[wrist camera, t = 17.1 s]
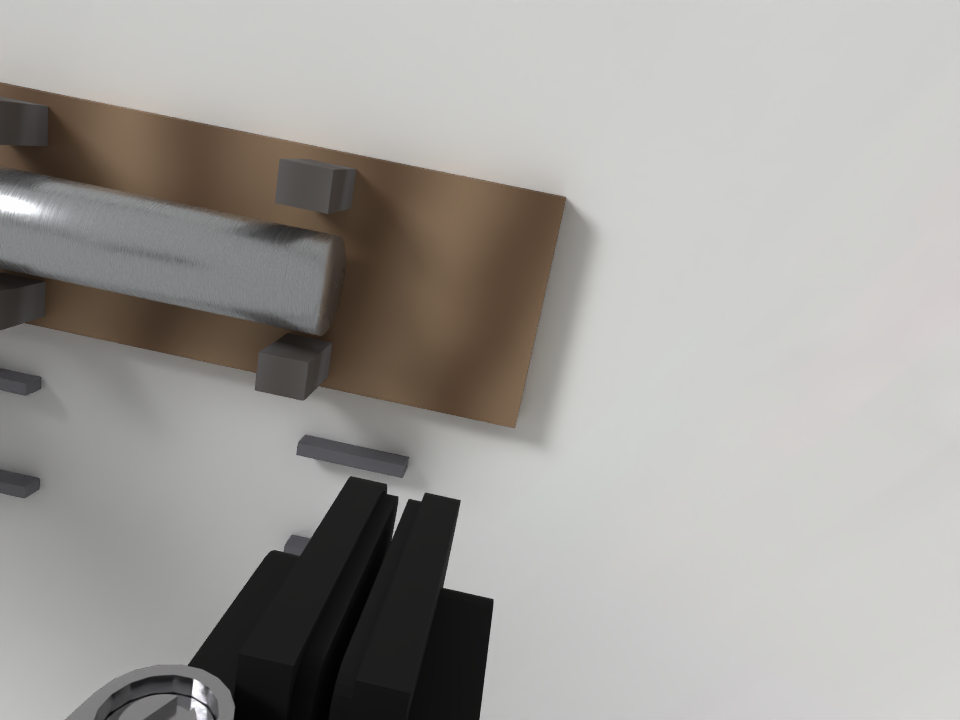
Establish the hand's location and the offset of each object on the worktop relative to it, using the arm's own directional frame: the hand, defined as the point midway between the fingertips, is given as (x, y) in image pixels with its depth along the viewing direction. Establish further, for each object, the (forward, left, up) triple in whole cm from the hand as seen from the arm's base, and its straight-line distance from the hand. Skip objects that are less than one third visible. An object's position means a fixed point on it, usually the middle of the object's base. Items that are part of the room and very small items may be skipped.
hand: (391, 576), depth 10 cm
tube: (-18, 0, -20) cm, 27 cm away
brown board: (-14, 0, -21) cm, 25 cm away
